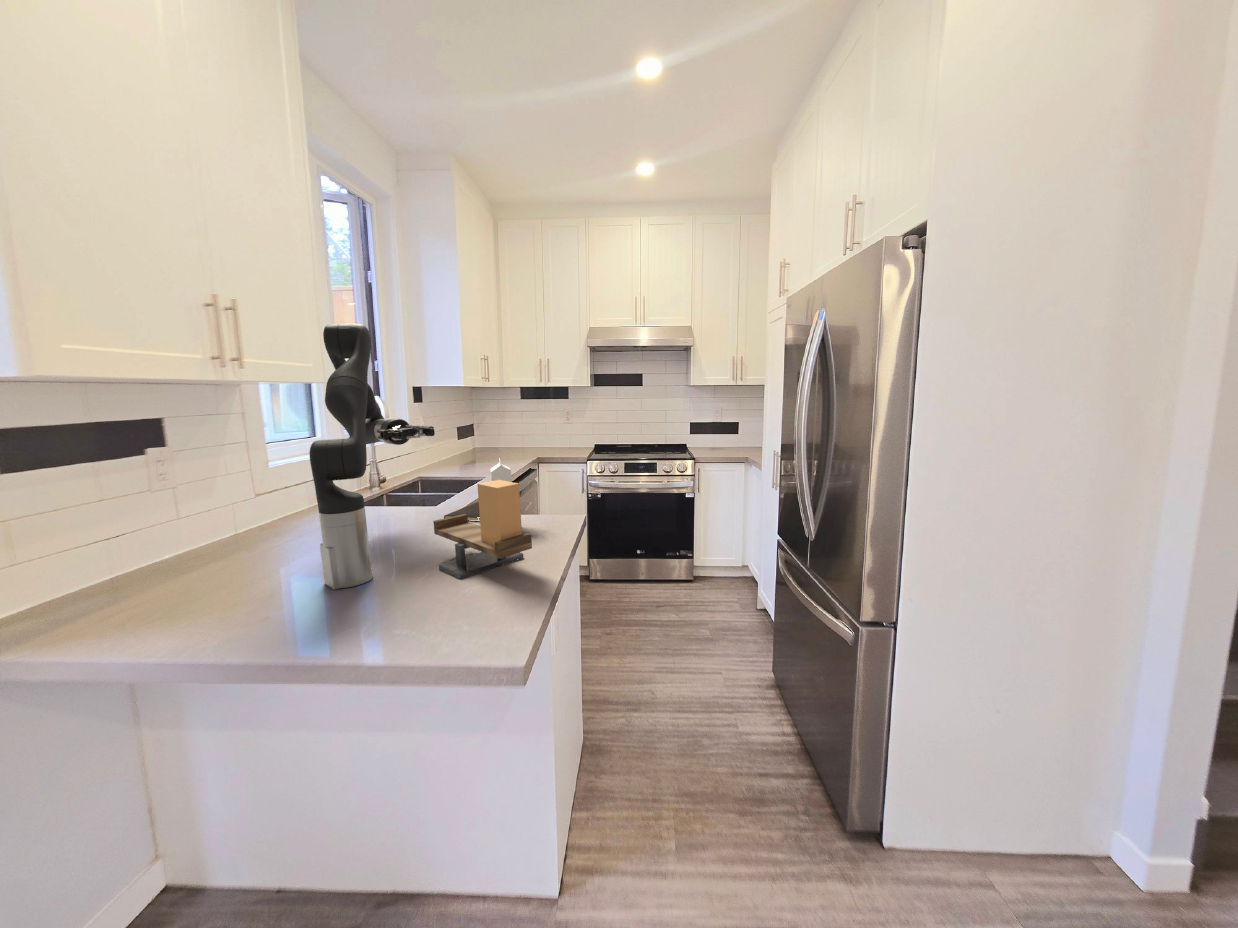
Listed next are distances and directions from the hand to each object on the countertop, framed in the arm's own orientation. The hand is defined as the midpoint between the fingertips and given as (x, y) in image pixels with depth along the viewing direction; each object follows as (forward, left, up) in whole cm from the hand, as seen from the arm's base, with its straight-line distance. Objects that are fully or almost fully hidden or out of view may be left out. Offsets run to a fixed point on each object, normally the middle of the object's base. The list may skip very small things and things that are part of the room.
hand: (417, 433), depth 135 cm
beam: (+2, -25, -26) cm, 36 cm away
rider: (+2, -34, -25) cm, 42 cm away
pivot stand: (+2, -25, -32) cm, 40 cm away
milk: (+24, -2, -32) cm, 40 cm away
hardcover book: (+31, +22, -33) cm, 50 cm away
